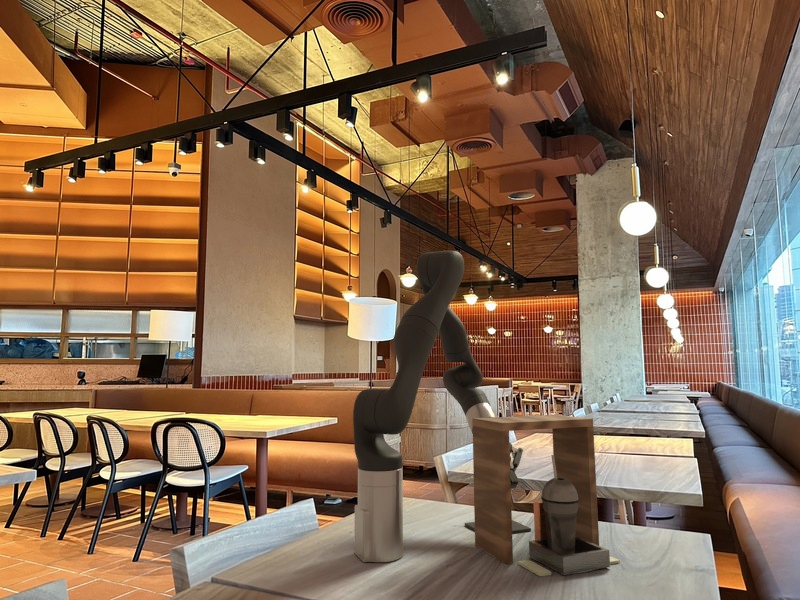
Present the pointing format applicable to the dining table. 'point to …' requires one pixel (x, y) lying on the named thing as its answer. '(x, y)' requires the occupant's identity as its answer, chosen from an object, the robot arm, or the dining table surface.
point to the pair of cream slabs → (543, 572)
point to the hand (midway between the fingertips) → (514, 486)
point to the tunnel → (495, 482)
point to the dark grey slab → (515, 527)
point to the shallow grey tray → (583, 560)
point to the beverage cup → (560, 513)
